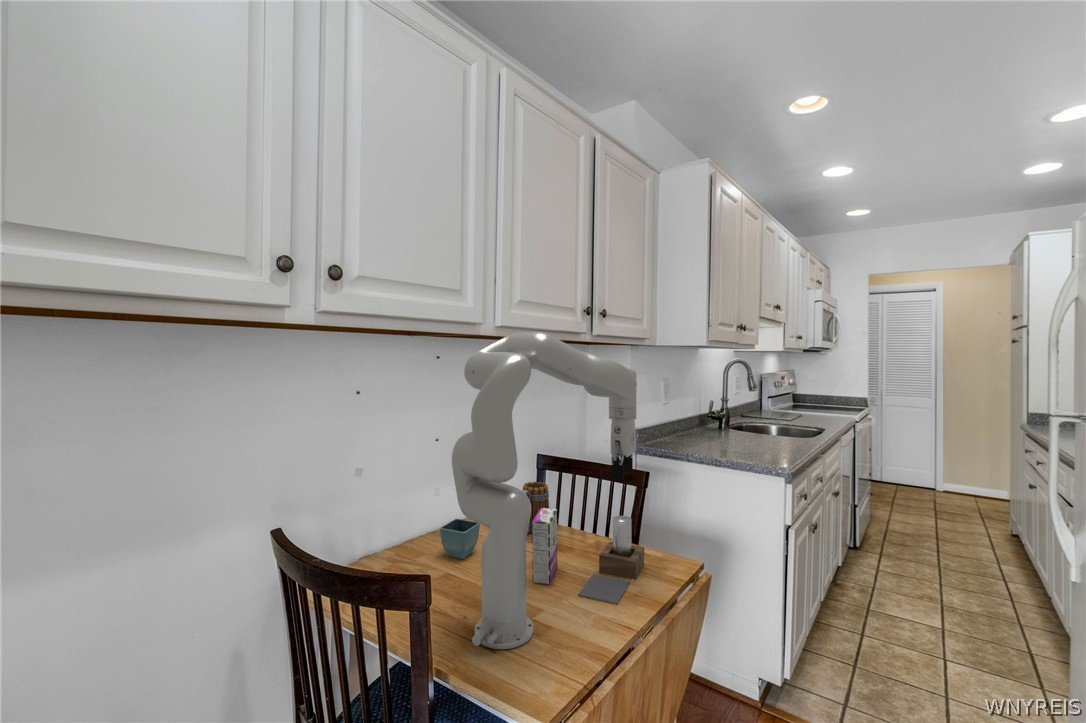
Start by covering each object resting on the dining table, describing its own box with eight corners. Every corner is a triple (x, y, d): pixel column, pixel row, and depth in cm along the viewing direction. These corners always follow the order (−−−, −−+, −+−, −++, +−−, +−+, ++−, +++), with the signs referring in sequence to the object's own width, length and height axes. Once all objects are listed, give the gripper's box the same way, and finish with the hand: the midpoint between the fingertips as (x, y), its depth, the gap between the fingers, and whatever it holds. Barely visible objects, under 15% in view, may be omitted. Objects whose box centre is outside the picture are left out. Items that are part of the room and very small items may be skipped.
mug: (528, 521, 171) (528, 479, 171) (555, 526, 167) (556, 482, 166) (506, 536, 157) (506, 490, 157) (535, 542, 153) (535, 494, 152)
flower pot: (464, 563, 137) (464, 532, 137) (439, 558, 140) (438, 527, 140) (480, 551, 145) (480, 522, 145) (455, 547, 149) (455, 518, 148)
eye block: (635, 580, 127) (635, 561, 127) (599, 573, 131) (599, 554, 131) (644, 565, 136) (644, 547, 136) (609, 558, 140) (609, 541, 140)
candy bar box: (540, 564, 136) (540, 507, 136) (557, 566, 135) (557, 508, 135) (531, 583, 125) (531, 521, 125) (550, 585, 124) (550, 522, 124)
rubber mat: (617, 604, 115) (617, 603, 115) (577, 596, 119) (577, 594, 119) (629, 582, 126) (629, 581, 126) (593, 575, 130) (593, 573, 130)
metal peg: (628, 574, 130) (628, 523, 130) (610, 571, 132) (610, 520, 132) (633, 567, 135) (633, 517, 135) (615, 563, 137) (616, 514, 137)
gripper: (628, 418, 123) (627, 484, 124) (643, 410, 139) (642, 469, 140) (599, 416, 127) (599, 481, 127) (617, 409, 142) (617, 466, 143)
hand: (622, 475), depth 133 cm, fingers open, 9 cm apart
